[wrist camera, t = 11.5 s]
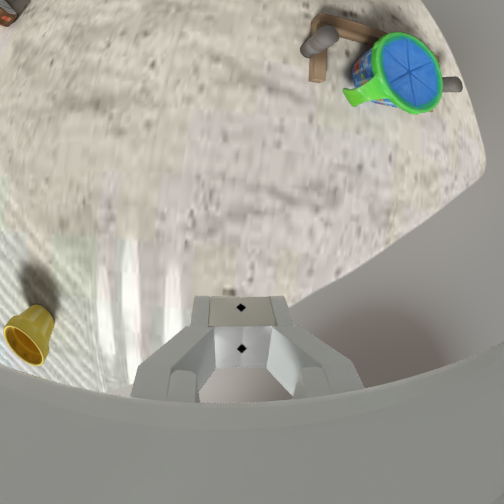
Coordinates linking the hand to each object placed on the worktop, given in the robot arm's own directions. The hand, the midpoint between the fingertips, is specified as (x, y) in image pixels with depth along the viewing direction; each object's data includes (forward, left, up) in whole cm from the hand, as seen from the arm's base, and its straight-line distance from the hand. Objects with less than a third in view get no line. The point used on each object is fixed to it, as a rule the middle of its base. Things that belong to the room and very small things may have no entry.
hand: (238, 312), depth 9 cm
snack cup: (-16, +20, -29) cm, 39 cm away
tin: (-37, -44, -29) cm, 65 cm away
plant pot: (+27, -39, -29) cm, 56 cm away
